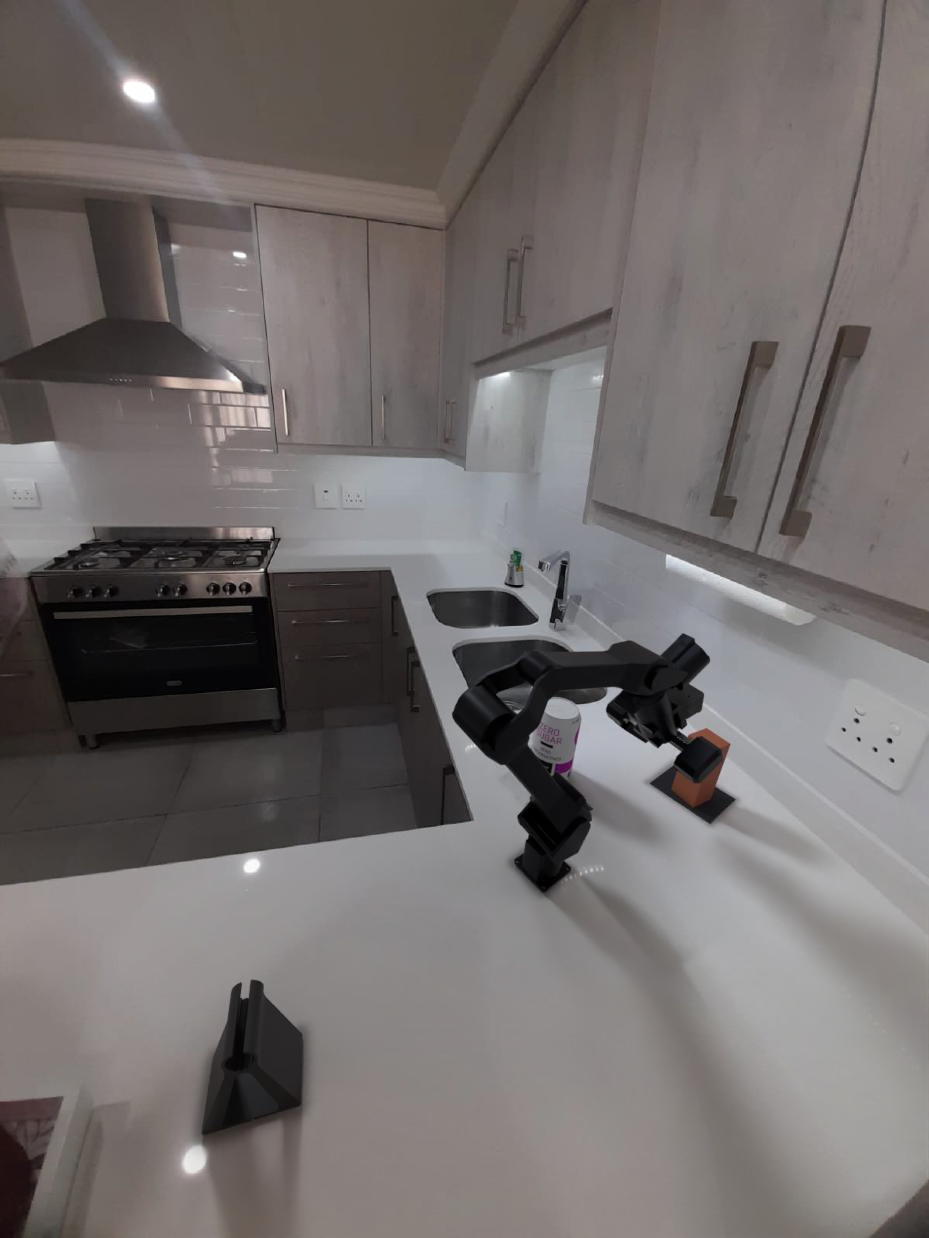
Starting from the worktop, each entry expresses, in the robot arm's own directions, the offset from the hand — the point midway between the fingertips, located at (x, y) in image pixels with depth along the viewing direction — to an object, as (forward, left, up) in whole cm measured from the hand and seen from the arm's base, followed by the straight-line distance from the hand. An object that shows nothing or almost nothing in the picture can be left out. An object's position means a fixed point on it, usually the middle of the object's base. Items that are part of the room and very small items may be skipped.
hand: (668, 756), depth 83 cm
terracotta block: (+9, -2, -12) cm, 15 cm away
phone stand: (-69, +4, -12) cm, 70 cm away
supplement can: (-9, +18, -12) cm, 23 cm away
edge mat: (+10, -2, -12) cm, 16 cm away
